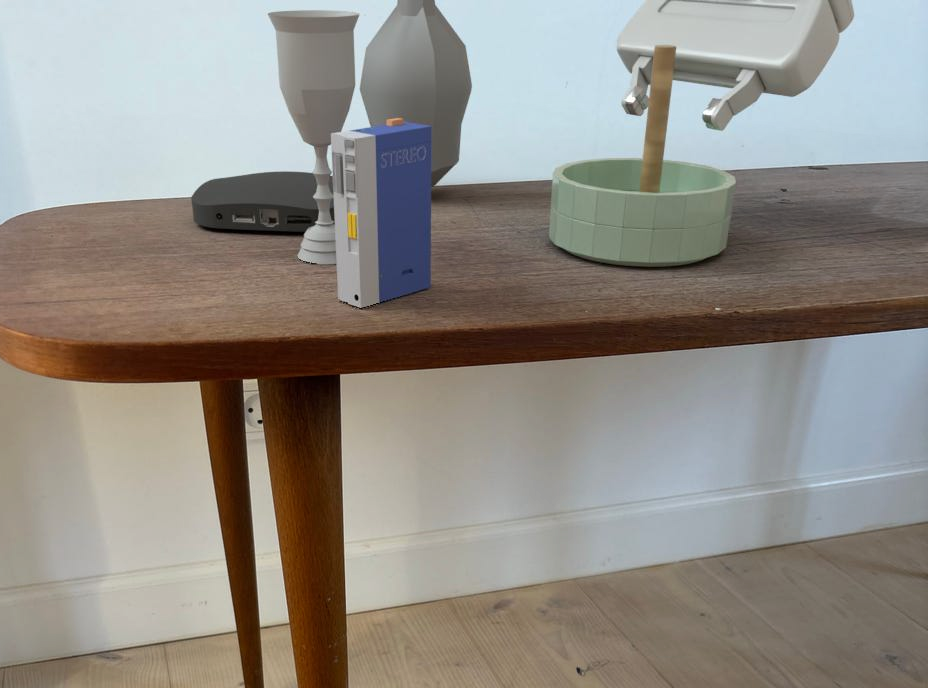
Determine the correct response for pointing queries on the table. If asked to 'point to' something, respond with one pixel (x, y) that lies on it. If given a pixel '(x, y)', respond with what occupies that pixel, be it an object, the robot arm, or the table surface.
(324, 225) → the chalice
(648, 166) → the stirring stick
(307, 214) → the media streaming box
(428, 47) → the grey faceted vase
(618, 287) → the table surface
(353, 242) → the walkman
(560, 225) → the bowl
